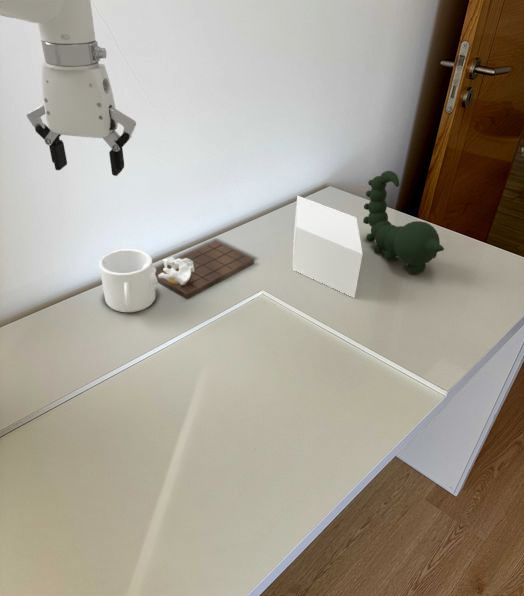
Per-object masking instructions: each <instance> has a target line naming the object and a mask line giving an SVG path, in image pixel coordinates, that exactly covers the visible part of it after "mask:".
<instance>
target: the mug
mask: <svg viewBox="0 0 524 596" xmlns="http://www.w3.org/2000/svg"><path fill="white" fill-rule="evenodd" d="M98 267H99V273H100V279H101V285H102V291H103V296H104V300H105V303H106V305H107V306H108V307H109V308H111V309H112V310H114V311H117V312H121V313H137V312H140V311H143V310H145V309H147V308H149V307H150V306H151V305H152V304H153V303H154V302H155V300H156V290H157V286H156V285H157V284H158V280H157V277H156V275H155V273H156V268H157V267H155V265H154V264H153V258H152V256H151V255H150V254H149V253H147V252H146V251H143V250H140V249H135V248H121V249H116V250H112V251H110V252H107V253H106V254H104V255H103V256H102V257H100V259H99V262H98Z"/></svg>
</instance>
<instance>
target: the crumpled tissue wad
mask: <svg viewBox="0 0 524 596" xmlns="http://www.w3.org/2000/svg"><path fill="white" fill-rule="evenodd" d="M177 258H178V259H177ZM177 258H175V257H172V256H171V257H167V258H163V260H162V263H163V264H162V265H164V266H165V268H164V269H163V271H164V272H165V273H166V274H164V273H161V274H159V275H158V277H159V278H164V279H174V280H175V281H177V282H179V283H180V285H184V284H185V283H186V282H187V281H188V280H189V278H190V276H191V272H194V267H193V266H194V265H193V261H192V260H190V259H188V258H185V259H179V257H177ZM175 259H176V260H175ZM167 265H170V266H171V267H172V268H171V269H168V268H167ZM177 268H179V271H178V272H177V271H175V270H176V269H177Z"/></svg>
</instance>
